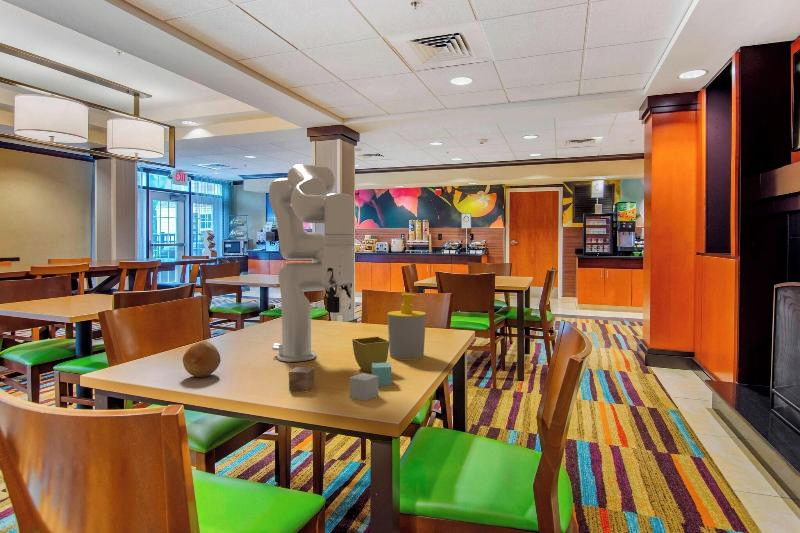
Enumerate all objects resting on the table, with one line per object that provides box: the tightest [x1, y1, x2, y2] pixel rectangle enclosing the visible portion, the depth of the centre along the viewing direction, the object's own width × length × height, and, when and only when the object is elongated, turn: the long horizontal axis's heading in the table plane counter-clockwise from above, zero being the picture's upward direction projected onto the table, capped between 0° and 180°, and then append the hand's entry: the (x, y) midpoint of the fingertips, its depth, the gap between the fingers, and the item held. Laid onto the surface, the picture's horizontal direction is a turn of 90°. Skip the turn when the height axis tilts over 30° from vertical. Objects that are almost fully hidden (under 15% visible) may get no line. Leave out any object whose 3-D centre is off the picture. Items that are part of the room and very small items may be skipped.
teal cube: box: [371, 362, 392, 387], centre depth 126 cm, size 5×5×5 cm
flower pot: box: [351, 336, 390, 373], centre depth 139 cm, size 9×9×9 cm
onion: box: [182, 340, 222, 379], centre depth 132 cm, size 10×10×10 cm
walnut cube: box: [288, 366, 315, 392], centre depth 121 cm, size 5×5×5 cm
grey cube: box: [349, 372, 379, 402], centre depth 114 cm, size 5×5×5 cm
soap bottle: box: [386, 292, 427, 361], centre depth 156 cm, size 13×13×21 cm
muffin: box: [332, 287, 352, 316], centre depth 121 cm, size 6×6×7 cm
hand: (339, 309), depth 121 cm, fingers closed on muffin, 6 cm apart
